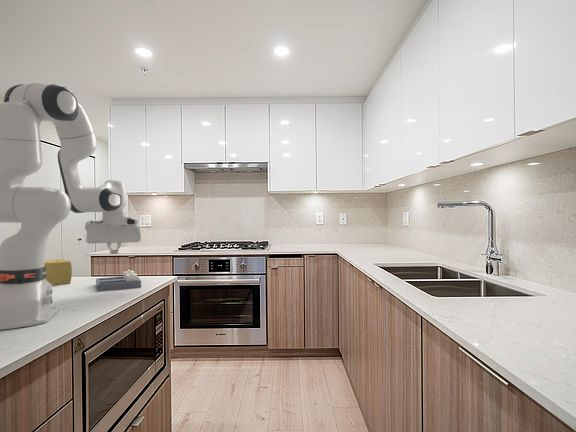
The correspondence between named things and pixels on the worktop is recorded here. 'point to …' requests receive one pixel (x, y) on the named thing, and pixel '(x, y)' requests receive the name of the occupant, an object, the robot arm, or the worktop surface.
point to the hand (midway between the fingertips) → (114, 253)
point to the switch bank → (116, 283)
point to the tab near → (131, 277)
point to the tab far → (128, 273)
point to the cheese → (58, 271)
